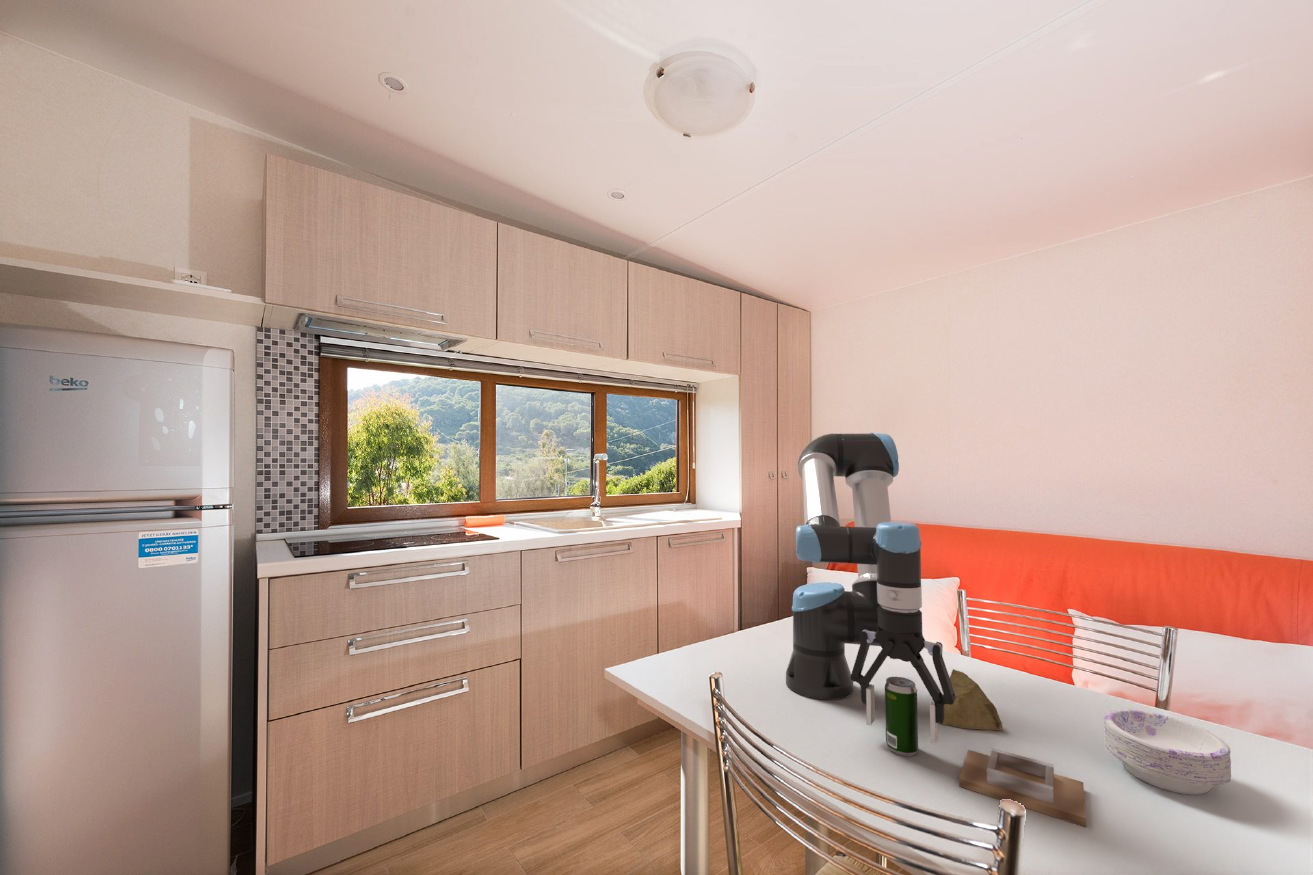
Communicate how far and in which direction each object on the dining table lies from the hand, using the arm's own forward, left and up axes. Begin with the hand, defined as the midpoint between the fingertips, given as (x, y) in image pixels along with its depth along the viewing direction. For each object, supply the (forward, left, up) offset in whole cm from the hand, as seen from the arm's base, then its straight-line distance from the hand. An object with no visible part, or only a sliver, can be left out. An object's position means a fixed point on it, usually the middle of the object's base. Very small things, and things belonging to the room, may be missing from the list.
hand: (901, 730), depth 97 cm
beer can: (0, 0, -3) cm, 3 cm away
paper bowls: (+37, +17, -4) cm, 41 cm away
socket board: (+18, -1, -3) cm, 18 cm away
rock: (+9, +18, -4) cm, 20 cm away
